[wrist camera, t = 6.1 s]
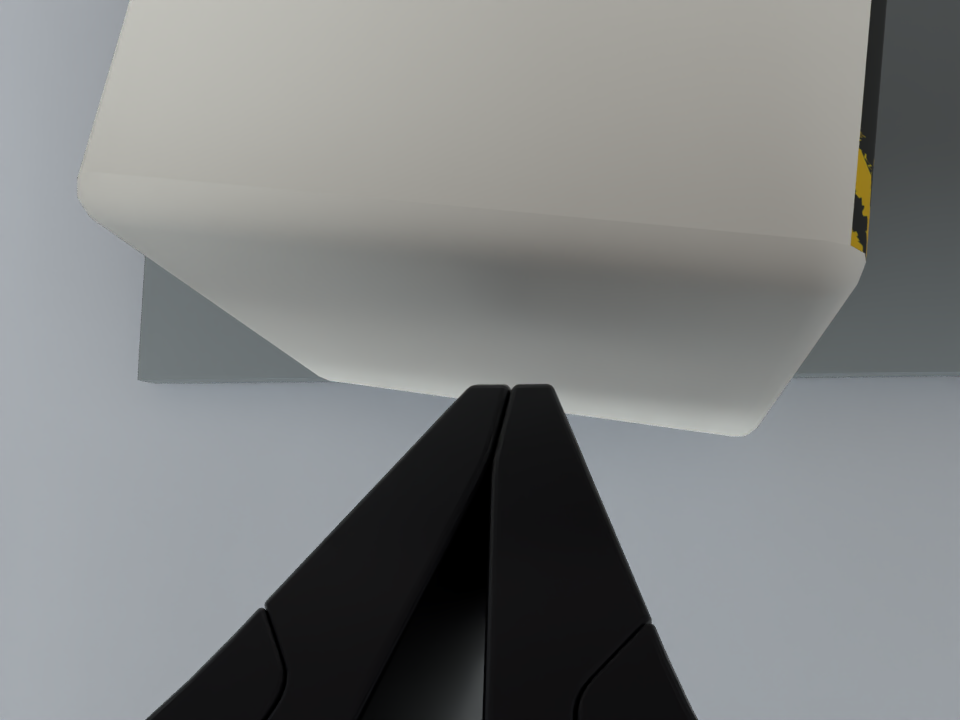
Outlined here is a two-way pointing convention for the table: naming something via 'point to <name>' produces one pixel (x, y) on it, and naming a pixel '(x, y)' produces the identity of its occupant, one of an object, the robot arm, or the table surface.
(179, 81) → the medicine bottle
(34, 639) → the table surface
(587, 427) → the table surface
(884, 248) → the mat
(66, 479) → the table surface
